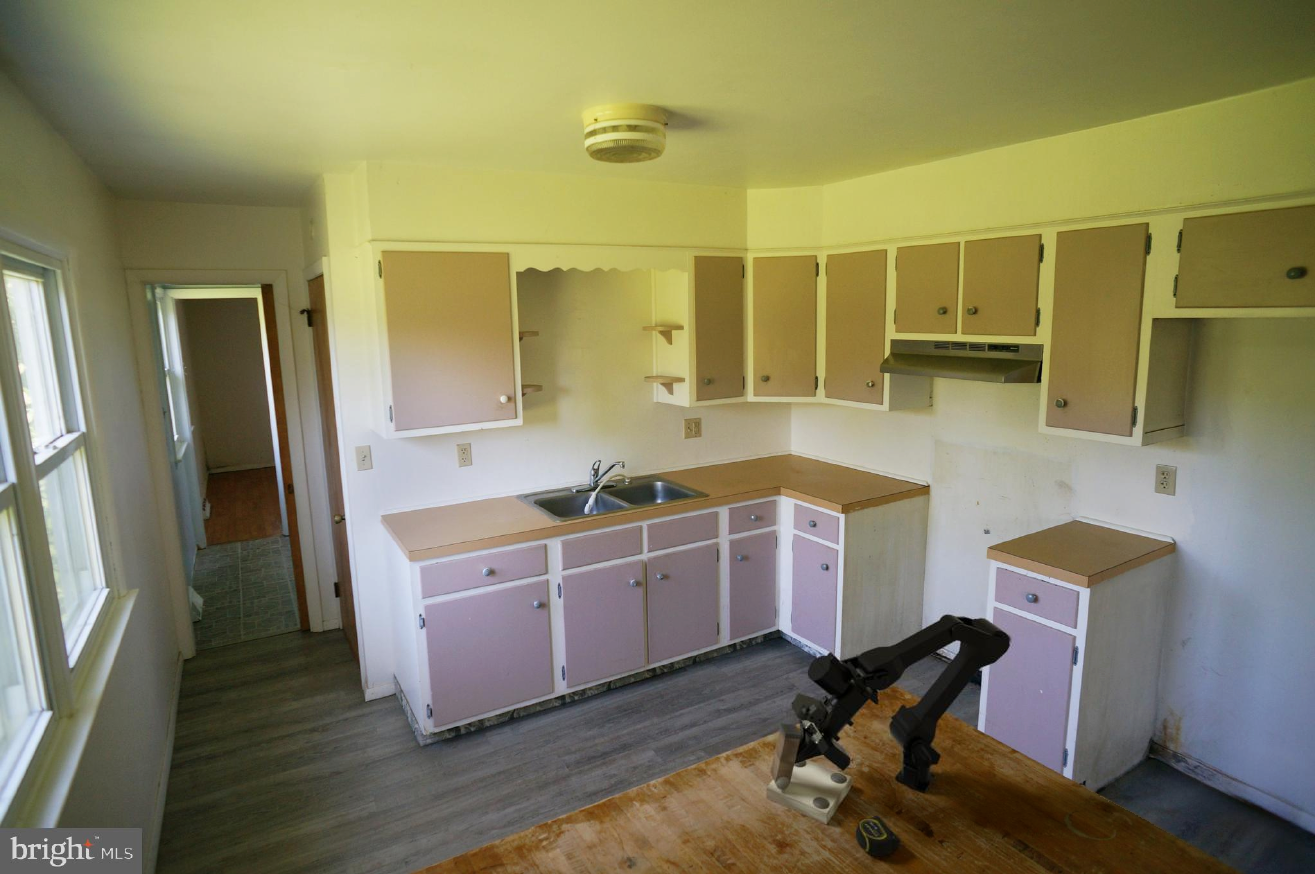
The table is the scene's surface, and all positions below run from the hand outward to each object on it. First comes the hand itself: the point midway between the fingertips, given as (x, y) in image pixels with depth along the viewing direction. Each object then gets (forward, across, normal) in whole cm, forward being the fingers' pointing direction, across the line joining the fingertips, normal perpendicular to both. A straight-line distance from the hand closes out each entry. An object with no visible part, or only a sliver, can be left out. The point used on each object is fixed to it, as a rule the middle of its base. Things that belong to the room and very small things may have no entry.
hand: (792, 761), depth 143 cm
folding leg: (+5, 0, +1) cm, 6 cm away
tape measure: (-2, +15, +14) cm, 21 cm away
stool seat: (+3, 0, +8) cm, 9 cm away
